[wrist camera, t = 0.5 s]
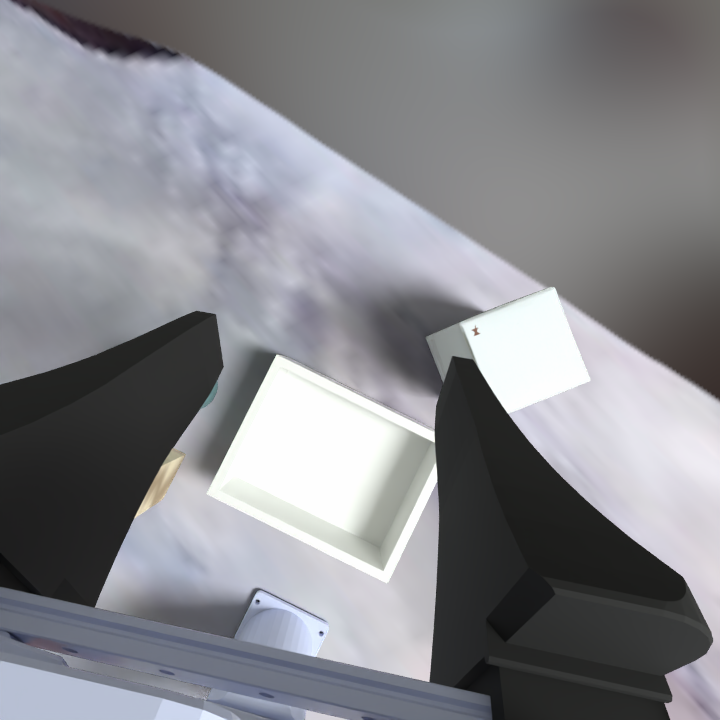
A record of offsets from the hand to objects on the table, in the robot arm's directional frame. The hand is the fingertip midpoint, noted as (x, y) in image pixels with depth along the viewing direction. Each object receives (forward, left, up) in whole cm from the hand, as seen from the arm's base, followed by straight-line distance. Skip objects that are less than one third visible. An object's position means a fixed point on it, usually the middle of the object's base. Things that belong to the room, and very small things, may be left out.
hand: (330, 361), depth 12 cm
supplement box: (+7, -11, -27) cm, 30 cm away
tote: (-8, -3, -27) cm, 28 cm away
